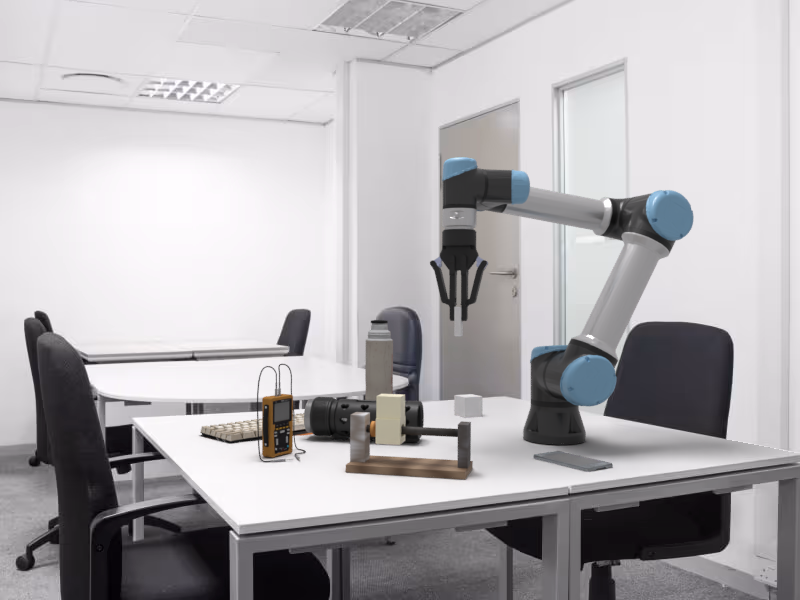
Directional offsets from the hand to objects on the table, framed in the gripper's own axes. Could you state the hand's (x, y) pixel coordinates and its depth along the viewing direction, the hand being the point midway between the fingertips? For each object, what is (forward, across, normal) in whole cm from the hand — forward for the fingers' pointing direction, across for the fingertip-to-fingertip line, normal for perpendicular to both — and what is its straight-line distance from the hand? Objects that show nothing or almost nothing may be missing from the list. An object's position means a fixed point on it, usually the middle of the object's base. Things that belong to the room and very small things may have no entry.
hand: (458, 335), depth 173 cm
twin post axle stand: (+26, -7, -17) cm, 32 cm away
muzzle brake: (+27, -25, +12) cm, 39 cm away
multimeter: (+27, -35, -11) cm, 45 cm away
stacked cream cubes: (+21, -11, -17) cm, 29 cm away
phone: (+27, +25, -1) cm, 37 cm away
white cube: (+27, -6, +57) cm, 63 cm away
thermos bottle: (+27, -31, +49) cm, 64 cm away
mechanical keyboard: (+27, -50, +18) cm, 59 cm away
